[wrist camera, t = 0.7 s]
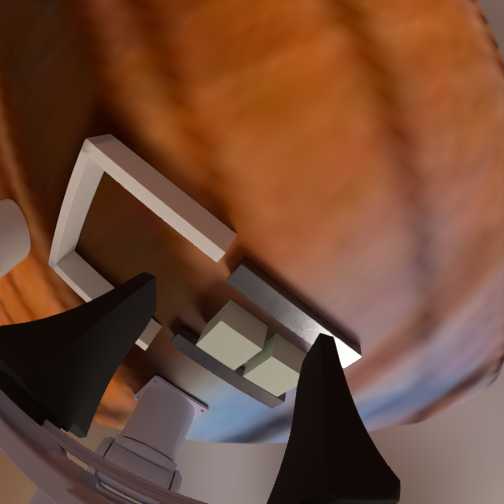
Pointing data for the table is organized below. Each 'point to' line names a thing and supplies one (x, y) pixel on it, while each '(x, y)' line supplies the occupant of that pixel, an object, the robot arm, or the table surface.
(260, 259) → the table surface
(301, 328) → the channel
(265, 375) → the white small block
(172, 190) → the white u-shaped bracket
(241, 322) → the chip
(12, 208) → the candle holder
